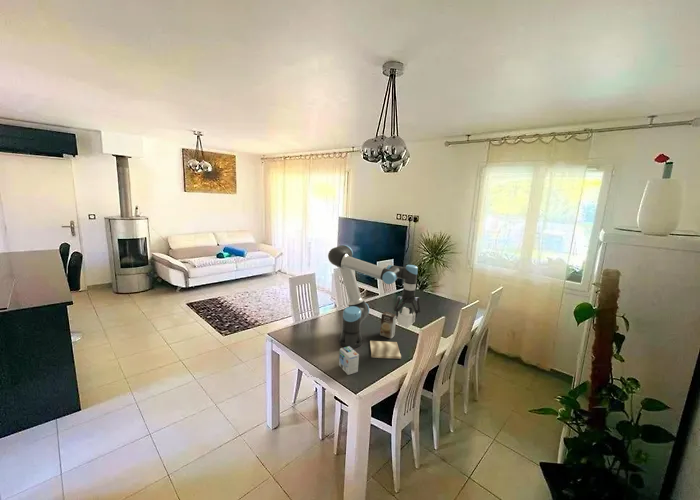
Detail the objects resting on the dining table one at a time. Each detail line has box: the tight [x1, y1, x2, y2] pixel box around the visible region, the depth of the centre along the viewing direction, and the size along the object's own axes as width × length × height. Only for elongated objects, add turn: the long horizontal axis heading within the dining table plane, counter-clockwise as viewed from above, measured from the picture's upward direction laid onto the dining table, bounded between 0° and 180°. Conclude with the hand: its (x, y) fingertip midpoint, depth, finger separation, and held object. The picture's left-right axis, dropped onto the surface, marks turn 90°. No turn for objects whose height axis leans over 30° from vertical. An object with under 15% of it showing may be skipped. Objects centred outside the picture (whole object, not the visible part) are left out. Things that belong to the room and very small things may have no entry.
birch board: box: [369, 340, 402, 360], centre depth 190 cm, size 18×18×2 cm
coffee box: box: [379, 311, 397, 339], centre depth 209 cm, size 9×6×16 cm
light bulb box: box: [338, 346, 360, 376], centre depth 168 cm, size 11×7×11 cm, turn 32°
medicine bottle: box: [397, 305, 414, 329], centre depth 194 cm, size 7×7×12 cm
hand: (405, 321), depth 195 cm, fingers closed on medicine bottle, 10 cm apart
